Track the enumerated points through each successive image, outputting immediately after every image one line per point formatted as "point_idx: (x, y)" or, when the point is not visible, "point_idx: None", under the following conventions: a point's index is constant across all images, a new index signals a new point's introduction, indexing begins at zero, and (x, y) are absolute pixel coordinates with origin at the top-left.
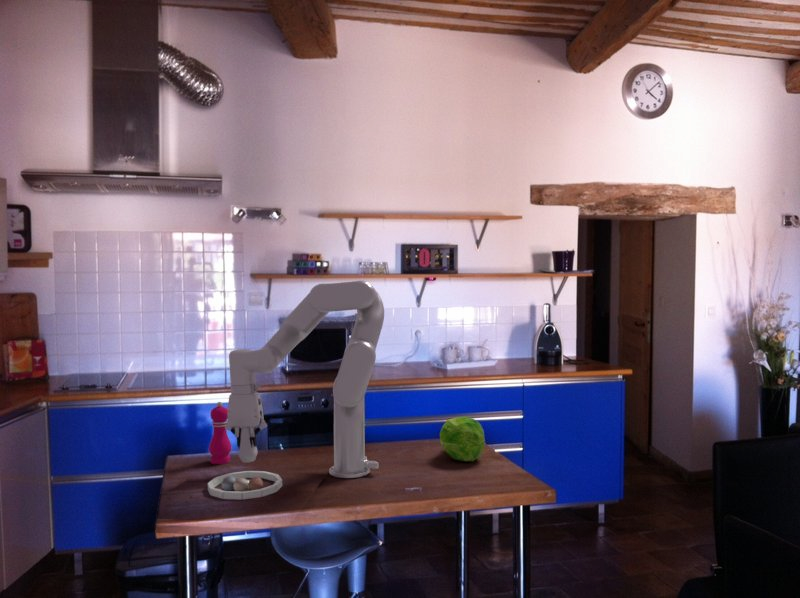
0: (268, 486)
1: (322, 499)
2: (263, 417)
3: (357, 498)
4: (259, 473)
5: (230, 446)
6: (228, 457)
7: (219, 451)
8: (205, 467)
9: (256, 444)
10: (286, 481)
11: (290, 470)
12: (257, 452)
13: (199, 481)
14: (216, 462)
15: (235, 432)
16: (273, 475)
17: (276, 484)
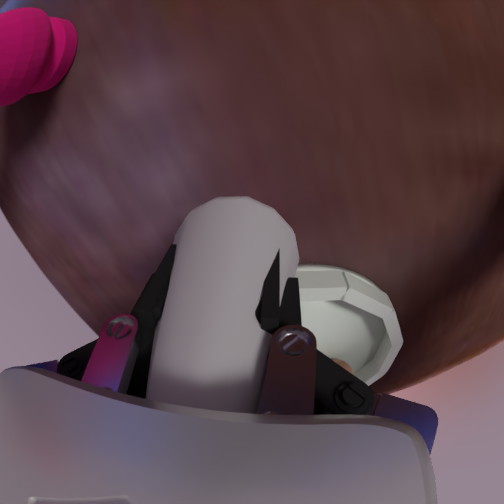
0: (367, 380)
1: (457, 343)
2: (434, 490)
3: (501, 325)
4: (325, 297)
5: (36, 33)
6: (63, 45)
7: (21, 95)
8: (36, 137)
9: (298, 284)
10: (407, 255)
11: (410, 117)
12: (293, 232)
13: (112, 280)
14: (44, 90)
15: (129, 394)
16: (379, 316)
17: (386, 369)
